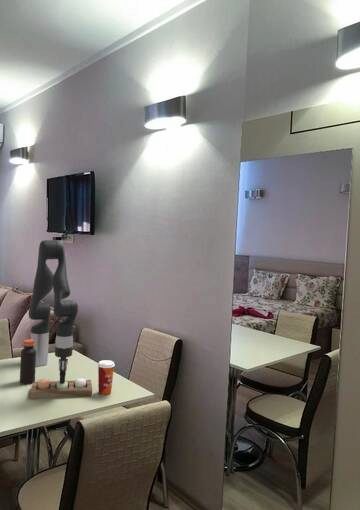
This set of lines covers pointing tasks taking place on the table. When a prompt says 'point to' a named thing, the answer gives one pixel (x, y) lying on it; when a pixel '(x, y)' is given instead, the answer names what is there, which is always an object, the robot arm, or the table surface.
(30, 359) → the bottle
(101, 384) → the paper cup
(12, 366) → the table surface
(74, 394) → the button board
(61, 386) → the sage button
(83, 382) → the cream button
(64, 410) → the table surface
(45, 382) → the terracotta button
